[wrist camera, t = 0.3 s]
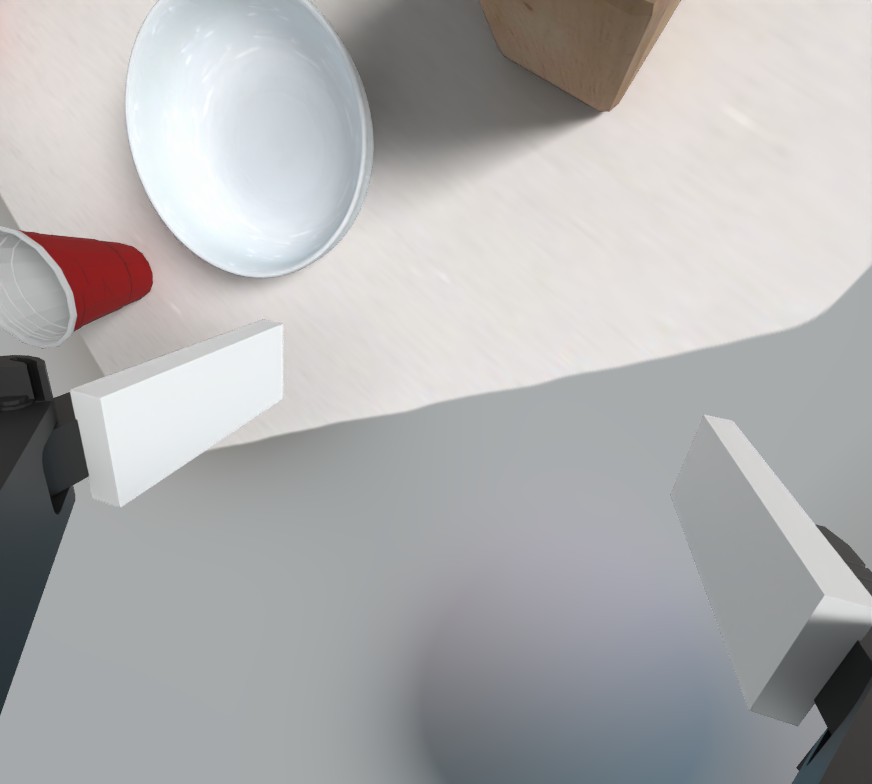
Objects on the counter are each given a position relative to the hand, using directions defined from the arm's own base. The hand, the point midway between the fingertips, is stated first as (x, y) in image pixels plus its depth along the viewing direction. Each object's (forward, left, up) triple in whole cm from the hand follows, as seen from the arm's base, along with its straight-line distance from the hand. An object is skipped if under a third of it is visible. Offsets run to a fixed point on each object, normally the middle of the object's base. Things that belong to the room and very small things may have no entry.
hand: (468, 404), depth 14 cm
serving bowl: (-8, -24, -28) cm, 38 cm away
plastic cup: (+6, -43, -28) cm, 51 cm away
